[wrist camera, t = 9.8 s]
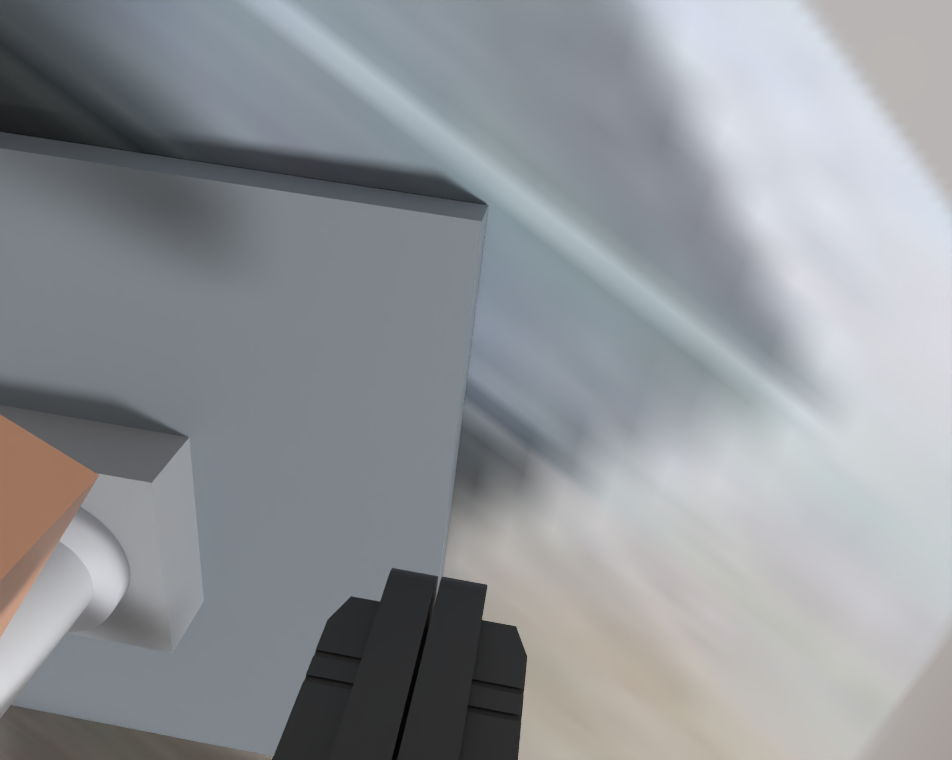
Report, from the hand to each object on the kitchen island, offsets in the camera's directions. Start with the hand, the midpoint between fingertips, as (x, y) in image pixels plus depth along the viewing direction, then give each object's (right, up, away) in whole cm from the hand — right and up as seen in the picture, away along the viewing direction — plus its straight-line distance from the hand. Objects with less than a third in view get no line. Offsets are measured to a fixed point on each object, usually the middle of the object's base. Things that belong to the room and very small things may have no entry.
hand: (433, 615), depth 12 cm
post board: (-10, +1, +11) cm, 15 cm away
